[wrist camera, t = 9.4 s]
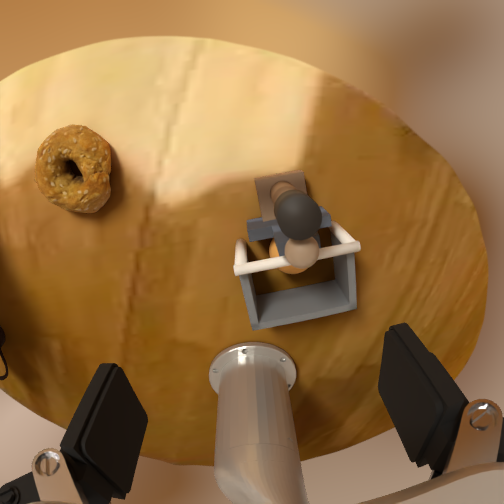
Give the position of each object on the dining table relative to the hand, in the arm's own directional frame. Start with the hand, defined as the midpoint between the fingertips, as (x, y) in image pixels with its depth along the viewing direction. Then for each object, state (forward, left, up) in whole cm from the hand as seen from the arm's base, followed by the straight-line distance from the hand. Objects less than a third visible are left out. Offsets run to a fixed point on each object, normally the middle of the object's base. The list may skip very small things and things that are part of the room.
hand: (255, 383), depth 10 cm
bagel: (+9, +18, -26) cm, 33 cm away
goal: (-8, -4, -26) cm, 27 cm away
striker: (0, -4, -25) cm, 26 cm away
